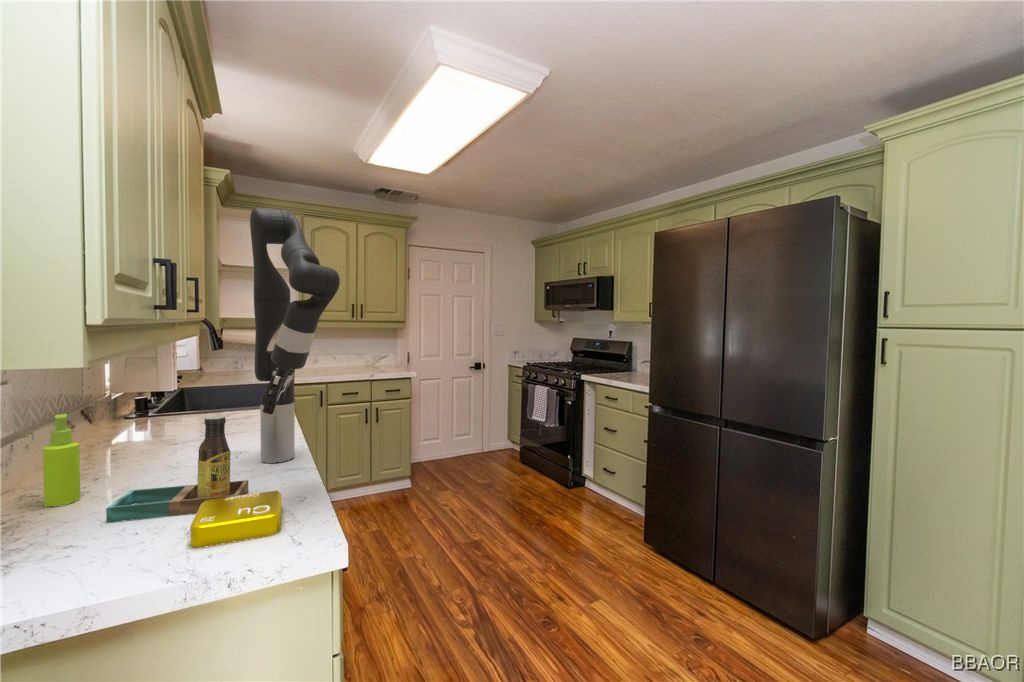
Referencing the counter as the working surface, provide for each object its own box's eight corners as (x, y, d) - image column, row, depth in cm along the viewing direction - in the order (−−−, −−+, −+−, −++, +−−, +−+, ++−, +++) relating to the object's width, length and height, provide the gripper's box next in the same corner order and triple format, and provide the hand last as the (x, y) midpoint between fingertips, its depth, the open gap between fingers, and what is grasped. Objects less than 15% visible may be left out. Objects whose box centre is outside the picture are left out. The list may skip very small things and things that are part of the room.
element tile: (281, 507, 102) (281, 487, 102) (280, 535, 89) (280, 512, 89) (202, 519, 95) (202, 497, 95) (188, 552, 82) (188, 526, 82)
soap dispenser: (80, 493, 107) (78, 411, 107) (80, 502, 102) (78, 415, 102) (45, 500, 103) (43, 414, 103) (43, 509, 98) (41, 419, 98)
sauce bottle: (213, 510, 99) (212, 421, 99) (190, 507, 101) (189, 419, 100) (237, 498, 106) (236, 415, 105) (215, 496, 107) (214, 414, 106)
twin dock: (131, 503, 102) (131, 490, 102) (248, 492, 110) (248, 480, 110) (106, 522, 92) (106, 508, 92) (237, 509, 100) (237, 495, 100)
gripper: (285, 331, 110) (266, 389, 113) (266, 348, 97) (245, 413, 100) (316, 341, 113) (296, 398, 115) (302, 359, 99) (281, 422, 102)
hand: (273, 405), depth 108 cm, fingers open, 8 cm apart
